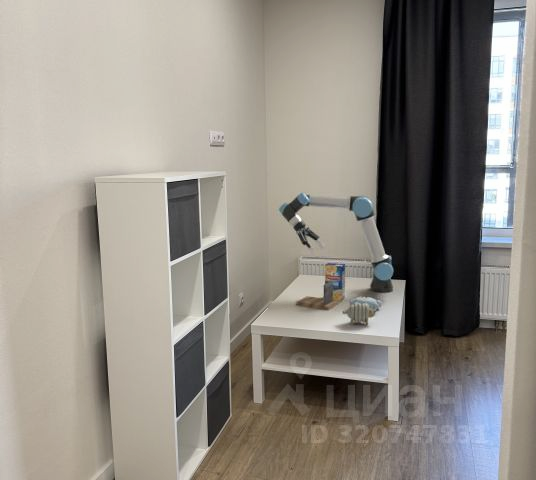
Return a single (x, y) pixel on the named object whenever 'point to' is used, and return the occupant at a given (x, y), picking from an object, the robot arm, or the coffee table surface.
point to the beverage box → (336, 279)
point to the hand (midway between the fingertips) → (318, 249)
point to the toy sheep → (359, 313)
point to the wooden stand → (320, 299)
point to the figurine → (367, 302)
